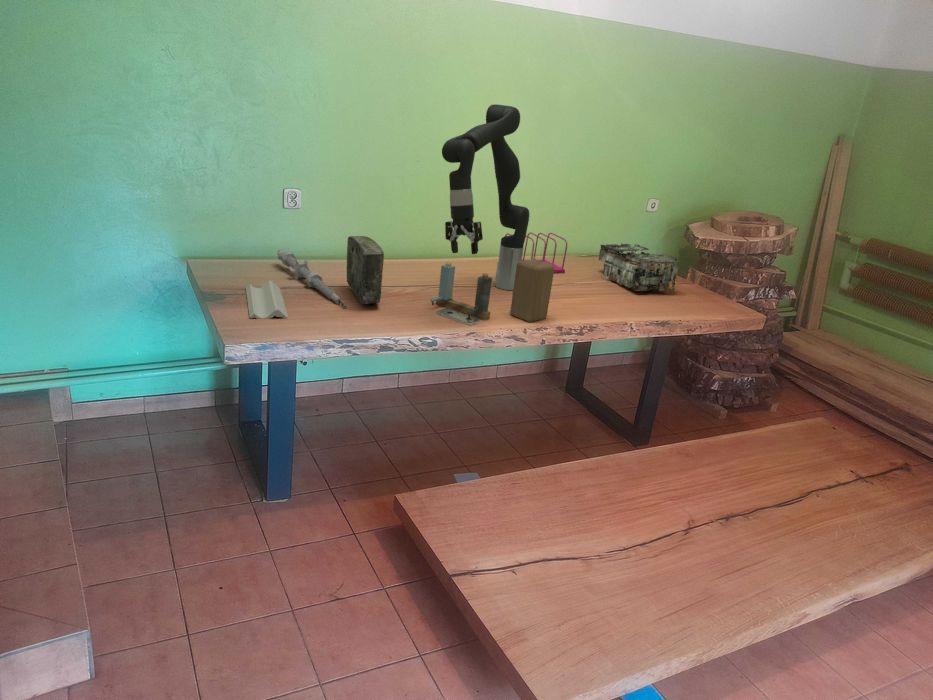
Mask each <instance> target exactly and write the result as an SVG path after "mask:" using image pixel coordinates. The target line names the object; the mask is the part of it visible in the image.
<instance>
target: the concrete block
mask: <svg viewBox="0 0 933 700" xmlns="http://www.w3.org/2000/svg"><path fill="white" fill-rule="evenodd" d="M384 254H385V252H384V250H383V249H382V247H381V246H380V245H379V244H378V243H377V242H376V241H375V240H373V239H372V238H371V237H368V236H364V235H352V236H351V235H350V236H348V237H347V246H346V282H347V284H348V287H350V289H351V291H352V292H353V293H354V295H355V297H356V298H357V300H358V302H359V303H360V304H362V305H369V304H378V303H380V302H381V298H382V297H381V295H382V282H383V271H384V262H385V261H384V260H385V255H384Z"/></svg>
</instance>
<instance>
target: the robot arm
mask: <svg viewBox="0 0 933 700" xmlns="http://www.w3.org/2000/svg"><path fill="white" fill-rule="evenodd" d="M520 124H521V113H520V111H519V109H518V108H517V107H514V106H511V105H504V104H490V105H489V106H488V108H487V109H486V114H485V123H481V124H478V125H476V126H474V127H472V128H470V129H469V130H468V131H467V130H466V132H464V133H463V134H460V135H457V136H454V137H452V138H450V139H448V140H446V141H445V142H444V144H443V146H442V148H441V155H442V158H443V160H444V161H446V162H447V163H449V164H455V163H457V164H458V163H459V165H458V168H457V169H455V170H453V171H450V172H449V176H448V179H449V206H450V207H449V209H450V218H451V219H452V220H450V221H449V220H448V221H446V222H444V227H445V228H444V229H445V233H444V234H445V240H446V241H449V243H450V249H451V253H452V254H457V253H459V243H458V239H459V237H460V236H466V238H468V239H469V240H470V251H471V254H472V255H477V254H478V252H479V242H480V241H482V240H484V239H483V238H484V237H483V228H482V226H483V225H482V222H481V221H477V222H476V221H475V222H474V220H473V219H474V217H475V214H474V213H475V210H474V197H473V191H472V190H473V189H472V172H473V166H474V161H475V155H476V153H477V152H479V151H480V150H481V149H483V148H484V147H485V146H487V145H488V144H490V146H491V150H492V157H493V165H494V172H495V173H494V175H495V180H496V186H497V187H496V188H497V193H498V194H497V195H498V211H499V212H498V213H499V214H498V215H499V222H500V225H502V227H505V228H507V229H512V230H514V232H513V234H511V236H510V235H507V236H505V235H504V236H502V237H501V239H500V246H499V253H498V254H499V255H498V261H497V263H496V270H495V271H496V272H495V280H494V287H496V288H498V289H500V290H505V291H507V290H508V291H513V288H514V281H515V274H516V267H517V263H518V262H519V261H521V260H523V254H524V247H525V245H524V244H525V243H526V239H527V237H526V236H527V231H528V227H529V223H530V210H529V209H528V207H526V206H521V205H518V204H513V203H512V197H511V196H512V194H513V192H514V190H515V189H516V187H517V186H518V184H519V182H520V181H521V169H520V168H521V167H520V160H519V159H518V157H517V155H516V154H515V152H514V151H513V149H512V148H511V147H510V145H509V144H508V142H507V141H506V139H505V136H508V135H509V136H510V135H511V134H514V133H516V132H517V130H518V128H519V126H520ZM523 246H524V247H523ZM522 253H523V254H522Z"/></svg>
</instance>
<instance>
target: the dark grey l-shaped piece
mask: <svg viewBox="0 0 933 700" xmlns="http://www.w3.org/2000/svg"><path fill="white" fill-rule="evenodd" d="M492 282H493V278H492V277H490V276H489V274H488V273H486V272H485V273H482V275H481V276H478V277H477V283H476V291H475V292H476V293H475V300H474V305H470V304H467V303H465V302H461V301H458V300H455V299H454V298H453V299H448V300H444V299H442V300H438V301H435V302H434V305H438V306H441V307H444V308H448V309H451V310H454V311H457V312H458V311H459V312H460V313H461V312H462V313H463V314H464V313H465V314H466V315H467V314H468V318H470V315H471V317H473V316H474V318H476V317H477V319H480V320H481V321H482V320H483V321H486V320H489V319H490V318H491V311H489V305H490V298H491V297H490V296H491V289H492ZM437 297H438V296H436V297H435V298H437Z"/></svg>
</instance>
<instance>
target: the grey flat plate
mask: <svg viewBox="0 0 933 700" xmlns="http://www.w3.org/2000/svg"><path fill="white" fill-rule="evenodd" d="M435 314H436V315H439V316H442V317H445V318H448V319H450V320H454V321H457V322H459V323H461V324H466V325H467V326H468V325H469V326H473V325H477V324H478V323H481V322H482V319H479V318H476V317H473V316H470V318H468V315H467V314H464V313H461V312H458V311H455V310H452V309H449V308H447V307H444V308H441V309H438V310H437V311H435Z"/></svg>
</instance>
